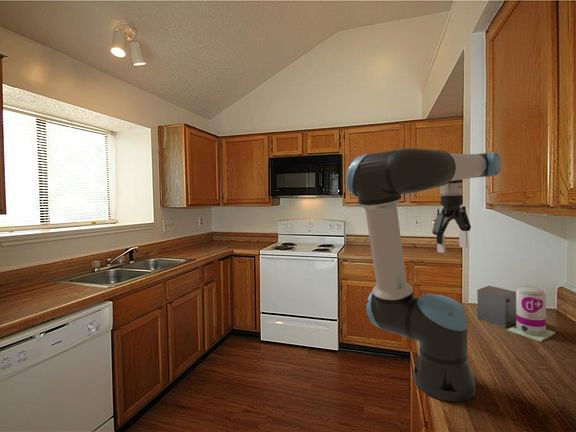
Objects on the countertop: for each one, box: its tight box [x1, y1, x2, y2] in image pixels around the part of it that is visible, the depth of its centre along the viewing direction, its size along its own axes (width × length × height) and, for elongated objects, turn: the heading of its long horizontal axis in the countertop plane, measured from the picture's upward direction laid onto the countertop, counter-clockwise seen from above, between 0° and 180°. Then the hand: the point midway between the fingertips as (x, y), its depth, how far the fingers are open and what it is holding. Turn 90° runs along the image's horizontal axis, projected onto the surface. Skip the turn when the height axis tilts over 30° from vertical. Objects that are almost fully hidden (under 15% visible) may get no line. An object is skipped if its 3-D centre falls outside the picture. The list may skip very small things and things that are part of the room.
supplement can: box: [515, 285, 547, 335], centre depth 108 cm, size 8×8×15 cm
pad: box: [507, 324, 556, 342], centre depth 109 cm, size 10×10×1 cm
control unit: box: [476, 285, 516, 329], centre depth 119 cm, size 8×10×12 cm
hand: (452, 249), depth 119 cm, fingers open, 13 cm apart
